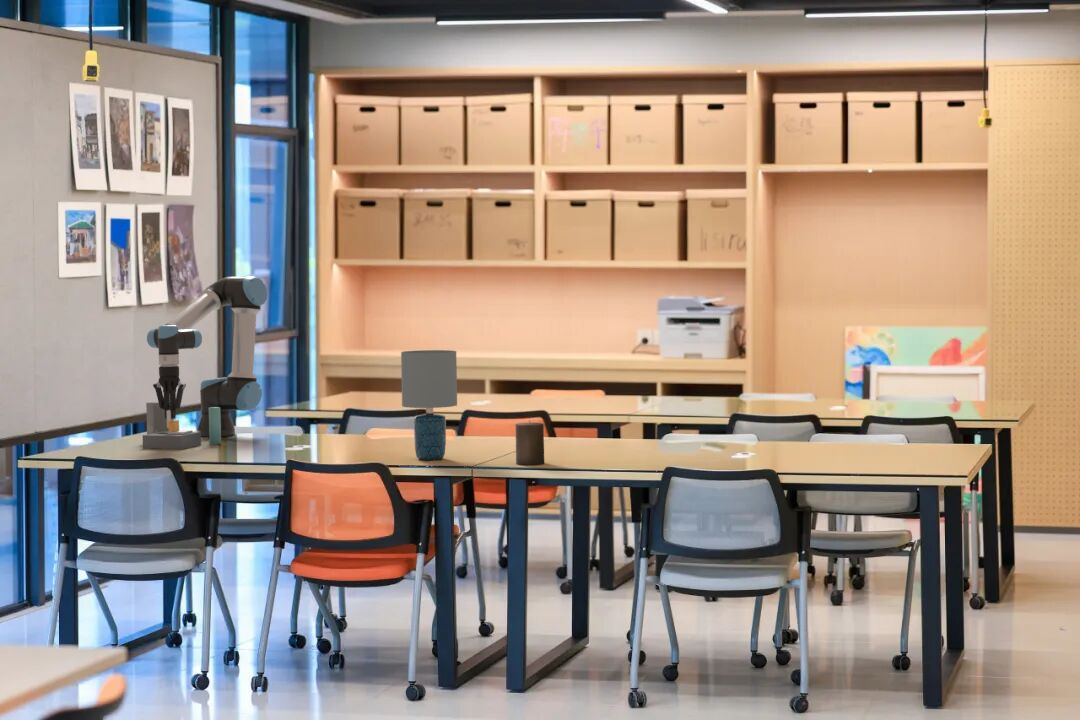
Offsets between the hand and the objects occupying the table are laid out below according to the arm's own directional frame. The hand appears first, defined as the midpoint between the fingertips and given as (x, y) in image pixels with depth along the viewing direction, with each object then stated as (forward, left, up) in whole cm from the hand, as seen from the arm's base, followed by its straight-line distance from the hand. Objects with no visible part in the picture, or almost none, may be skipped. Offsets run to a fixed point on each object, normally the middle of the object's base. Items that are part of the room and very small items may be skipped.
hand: (170, 427), depth 606 cm
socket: (0, +1, -7) cm, 7 cm away
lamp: (+21, +113, -8) cm, 115 cm away
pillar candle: (+27, +151, -8) cm, 153 cm away
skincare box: (-14, -12, -8) cm, 20 cm away
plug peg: (-12, +13, -7) cm, 19 cm away
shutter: (0, +4, -2) cm, 5 cm away
